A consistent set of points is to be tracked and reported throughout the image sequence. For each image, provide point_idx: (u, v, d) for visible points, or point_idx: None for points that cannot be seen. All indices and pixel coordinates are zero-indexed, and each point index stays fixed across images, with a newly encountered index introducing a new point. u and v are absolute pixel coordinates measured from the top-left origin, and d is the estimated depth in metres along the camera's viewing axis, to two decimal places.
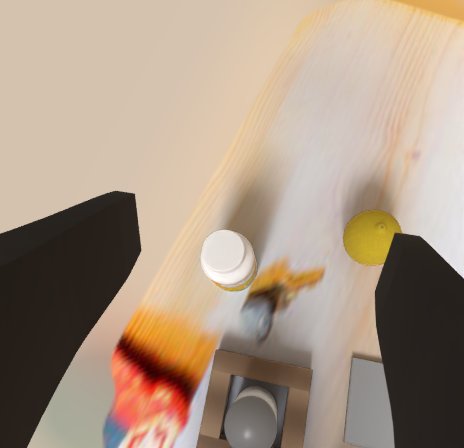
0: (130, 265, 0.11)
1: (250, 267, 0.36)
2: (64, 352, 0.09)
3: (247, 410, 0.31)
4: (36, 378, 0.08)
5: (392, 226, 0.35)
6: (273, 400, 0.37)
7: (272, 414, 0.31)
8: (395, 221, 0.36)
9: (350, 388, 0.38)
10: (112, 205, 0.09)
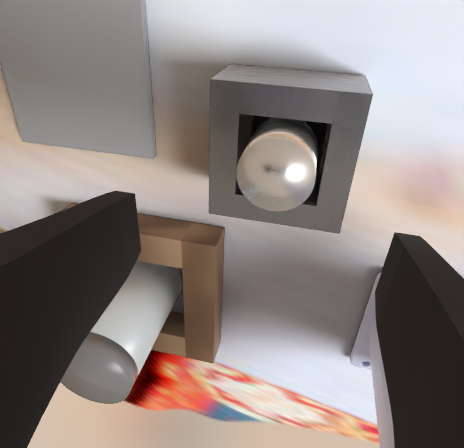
0: (130, 265, 0.11)
1: None
2: (64, 352, 0.09)
3: (70, 377, 0.19)
4: (36, 378, 0.08)
5: None
6: None
7: None
8: None
9: (68, 146, 0.21)
10: (112, 205, 0.09)
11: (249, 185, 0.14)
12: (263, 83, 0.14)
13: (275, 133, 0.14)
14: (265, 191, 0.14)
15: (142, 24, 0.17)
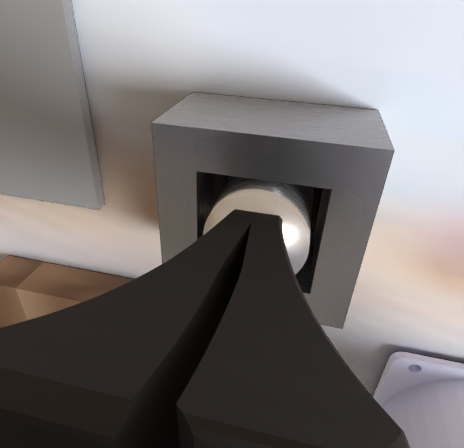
0: None
1: None
2: None
3: None
4: None
5: None
6: None
7: None
8: None
9: None
10: (249, 226, 0.09)
11: None
12: (229, 130, 0.09)
13: (255, 185, 0.10)
14: None
15: (69, 37, 0.12)
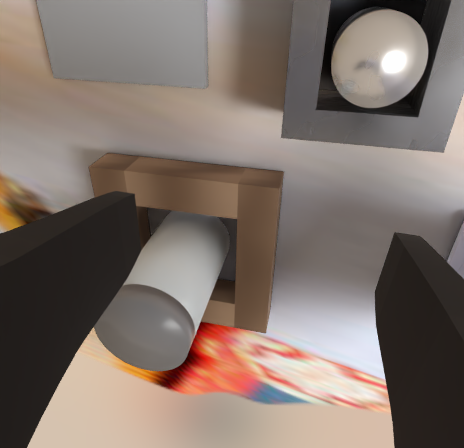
0: (130, 265, 0.11)
1: None
2: (64, 352, 0.09)
3: (117, 339, 0.17)
4: (36, 378, 0.08)
5: None
6: (160, 226, 0.21)
7: None
8: None
9: (107, 79, 0.18)
10: (112, 205, 0.09)
11: (345, 76, 0.13)
12: None
13: (379, 9, 0.12)
14: (364, 82, 0.13)
15: None
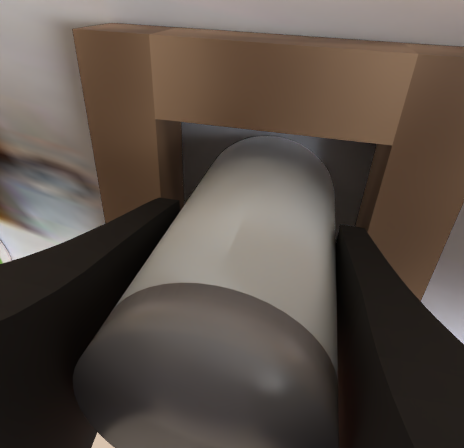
0: None
1: None
2: None
3: (135, 425, 0.06)
4: None
5: None
6: (213, 169, 0.11)
7: (111, 345, 0.05)
8: None
9: None
10: (162, 213, 0.09)
11: None
12: None
13: None
14: None
15: None
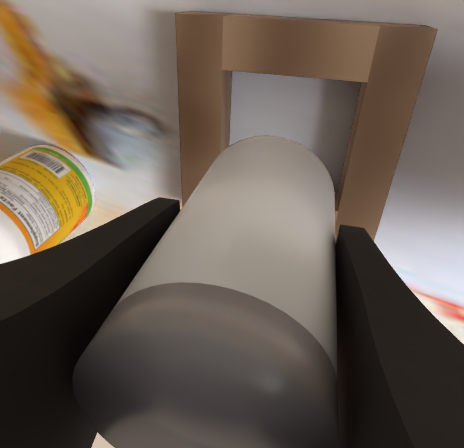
0: None
1: None
2: None
3: (135, 425, 0.06)
4: None
5: None
6: (213, 169, 0.11)
7: (111, 345, 0.05)
8: None
9: None
10: (162, 213, 0.09)
11: None
12: None
13: None
14: None
15: None
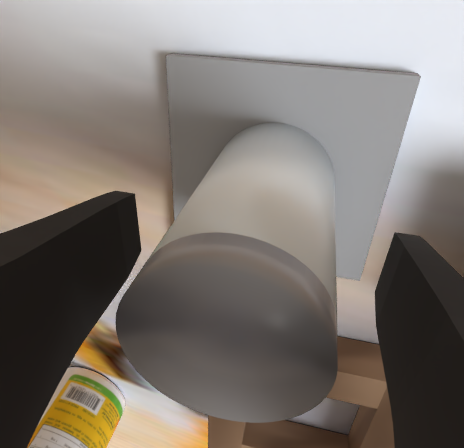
0: (130, 265, 0.11)
1: None
2: (64, 352, 0.09)
3: (167, 357, 0.08)
4: (36, 378, 0.08)
5: None
6: (226, 151, 0.12)
7: (152, 280, 0.07)
8: None
9: None
10: (112, 205, 0.09)
11: None
12: None
13: None
14: None
15: (404, 127, 0.12)
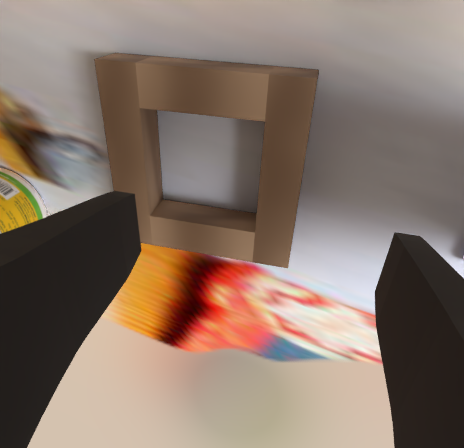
0: (130, 265, 0.11)
1: None
2: (64, 352, 0.09)
3: None
4: (37, 378, 0.08)
5: None
6: None
7: None
8: None
9: None
10: (112, 205, 0.09)
11: None
12: None
13: None
14: None
15: None
